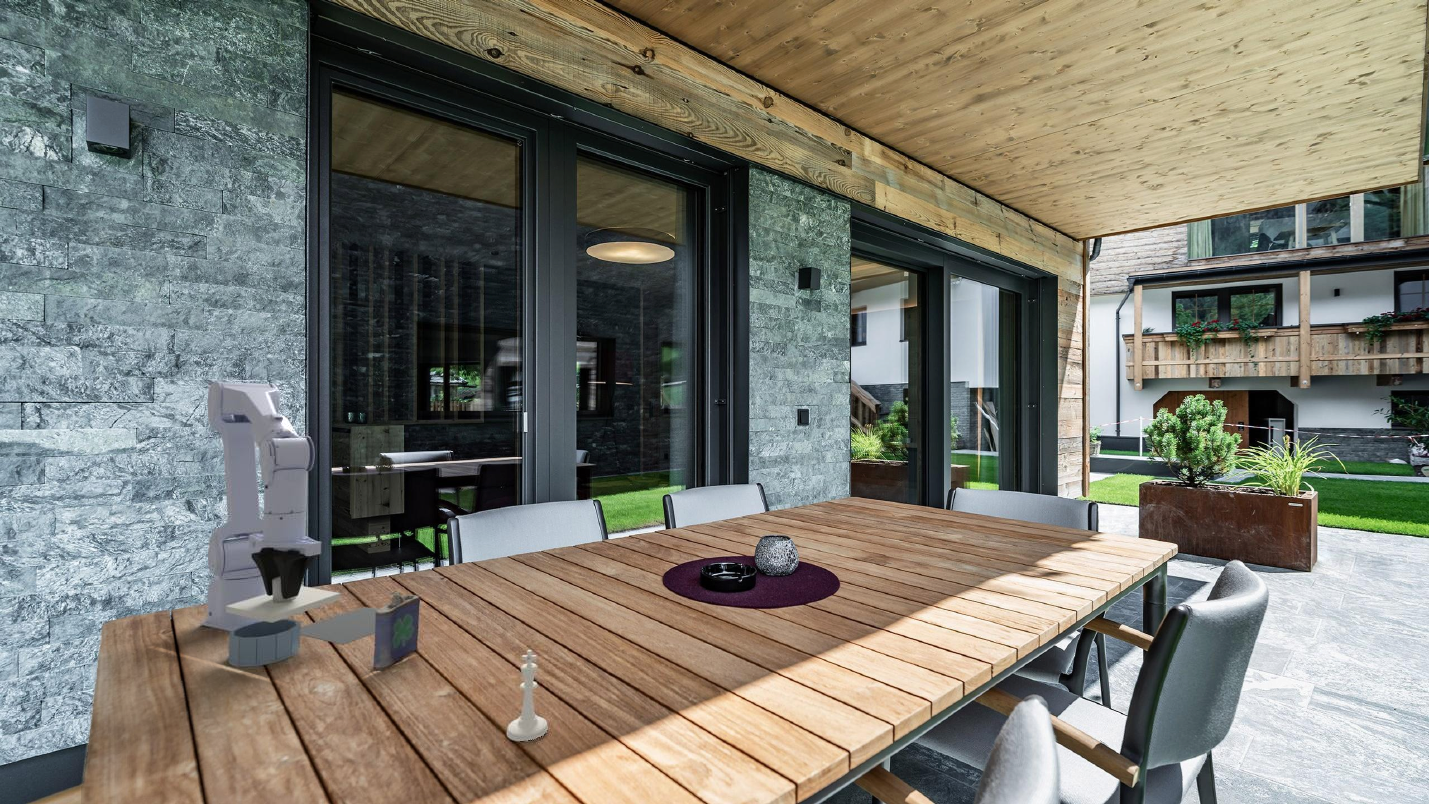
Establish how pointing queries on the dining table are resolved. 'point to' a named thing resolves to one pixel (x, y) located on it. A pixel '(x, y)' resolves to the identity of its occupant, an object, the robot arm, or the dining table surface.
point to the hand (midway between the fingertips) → (282, 595)
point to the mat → (343, 626)
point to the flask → (396, 630)
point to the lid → (282, 603)
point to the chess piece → (527, 707)
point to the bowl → (264, 642)
